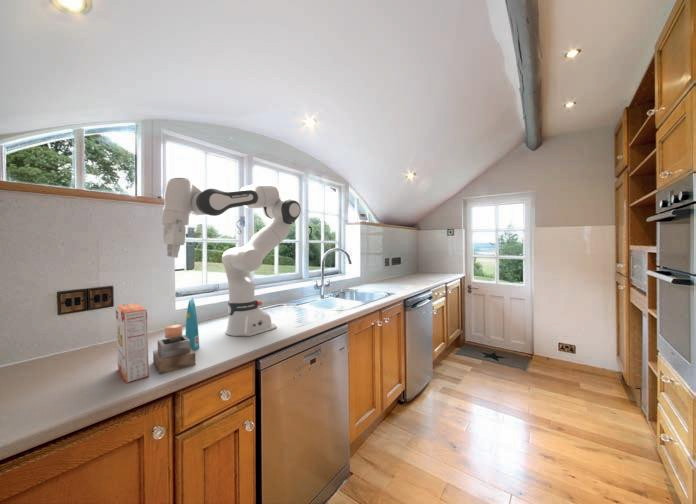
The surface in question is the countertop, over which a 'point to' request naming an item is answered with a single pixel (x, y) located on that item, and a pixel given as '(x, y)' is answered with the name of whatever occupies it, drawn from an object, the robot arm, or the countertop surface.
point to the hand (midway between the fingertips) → (172, 257)
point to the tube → (192, 326)
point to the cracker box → (132, 341)
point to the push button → (173, 332)
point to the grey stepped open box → (173, 355)
